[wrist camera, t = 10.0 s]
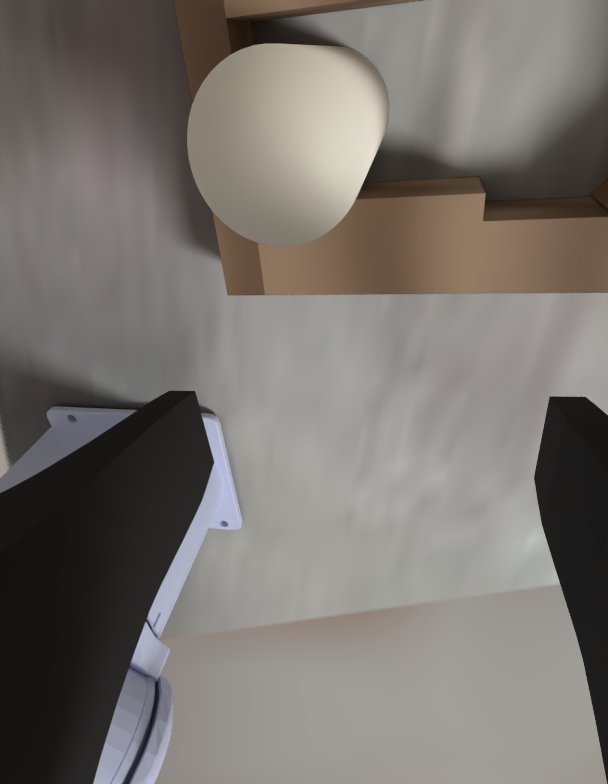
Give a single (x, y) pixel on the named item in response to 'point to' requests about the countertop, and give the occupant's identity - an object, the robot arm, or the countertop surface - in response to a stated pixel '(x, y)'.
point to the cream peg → (286, 138)
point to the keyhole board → (401, 209)
